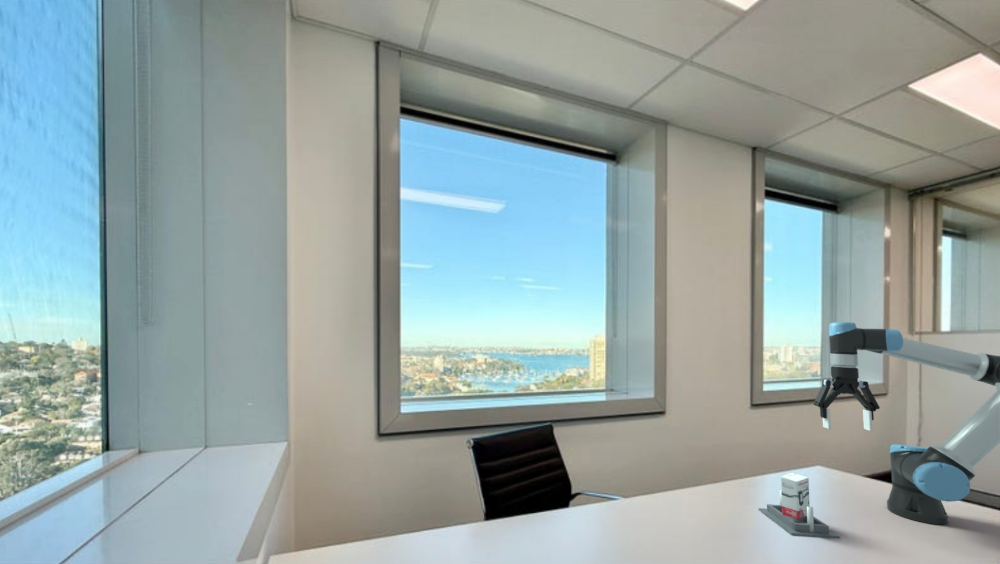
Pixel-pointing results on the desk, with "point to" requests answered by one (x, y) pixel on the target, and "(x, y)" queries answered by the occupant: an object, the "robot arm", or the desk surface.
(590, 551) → the desk surface
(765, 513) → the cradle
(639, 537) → the desk surface
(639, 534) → the desk surface
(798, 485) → the ink box
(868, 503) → the desk surface
